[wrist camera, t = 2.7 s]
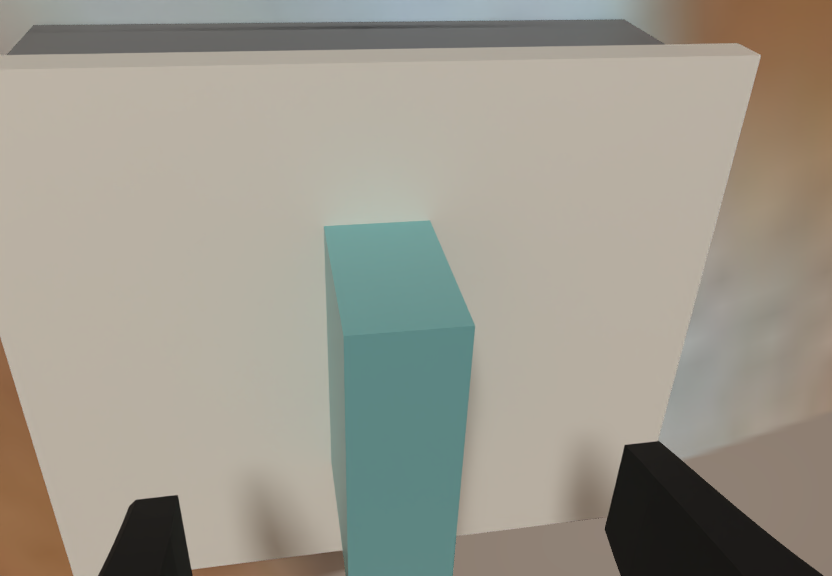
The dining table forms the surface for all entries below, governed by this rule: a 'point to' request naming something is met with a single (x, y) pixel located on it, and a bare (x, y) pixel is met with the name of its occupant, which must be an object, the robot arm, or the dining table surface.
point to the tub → (325, 36)
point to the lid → (353, 285)
